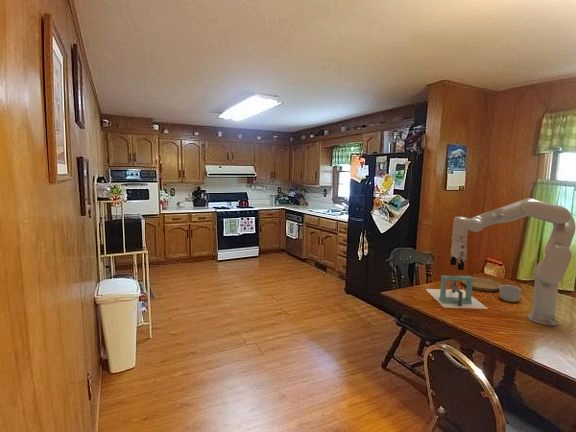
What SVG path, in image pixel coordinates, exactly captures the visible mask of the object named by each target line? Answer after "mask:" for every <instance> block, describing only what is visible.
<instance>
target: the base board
mask: <svg viewBox="0 0 576 432" xmlns="http://www.w3.org/2000/svg"><path fill="white" fill-rule="evenodd" d="M440 289H441V288H425V291H427V293H428V294H430V295H431V297H433V299H435V300H436V301H437V302H438V303H439V304H440V306H442V307H443V308H444V309H445V308H450V309H478V310H479V309H482V310H483V309H484V310H485V309H487V310H488V309H489V307H487V306H485V305H484V304H482V302H480V301H479V300H478V299H476V298H475V297H474V296H472V298H471V301H472V304H462V306H461V307H460V306H458V304H449V303H442V302H441V301H440V300H439V297H440ZM459 290H460V291H461V292H462V293H463V297H462V298H465V296H466V290H465V289H459ZM446 297H457V298H458V297H459V293H458V292H455V293H453V292H452V289H447V288H446Z"/></svg>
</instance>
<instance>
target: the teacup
mask: <svg viewBox="0 0 576 432" xmlns="http://www.w3.org/2000/svg"><path fill="white" fill-rule="evenodd" d="M498 291H499V292H498V293H499V294H498V295H499V297H500V299H502V300H503V301H505V302H509V303H516V302H518V301H520V299H521V291H522V288H520V287H518V286H515V285H510V284H506V285H505V284H502V286H500V287H499V290H498Z"/></svg>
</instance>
